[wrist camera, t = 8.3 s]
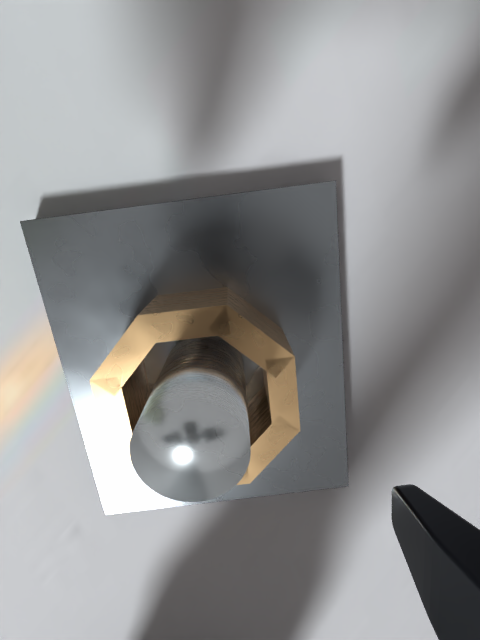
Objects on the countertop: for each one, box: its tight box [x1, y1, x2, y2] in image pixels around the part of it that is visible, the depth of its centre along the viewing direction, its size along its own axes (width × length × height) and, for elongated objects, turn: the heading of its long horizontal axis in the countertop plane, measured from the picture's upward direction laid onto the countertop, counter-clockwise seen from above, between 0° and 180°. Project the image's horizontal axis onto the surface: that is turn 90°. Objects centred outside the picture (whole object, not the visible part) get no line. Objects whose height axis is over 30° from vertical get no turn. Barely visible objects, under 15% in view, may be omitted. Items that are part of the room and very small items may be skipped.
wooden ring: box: [90, 287, 300, 485], centre depth 14 cm, size 7×7×3 cm
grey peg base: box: [20, 181, 348, 515], centre depth 13 cm, size 14×12×6 cm
